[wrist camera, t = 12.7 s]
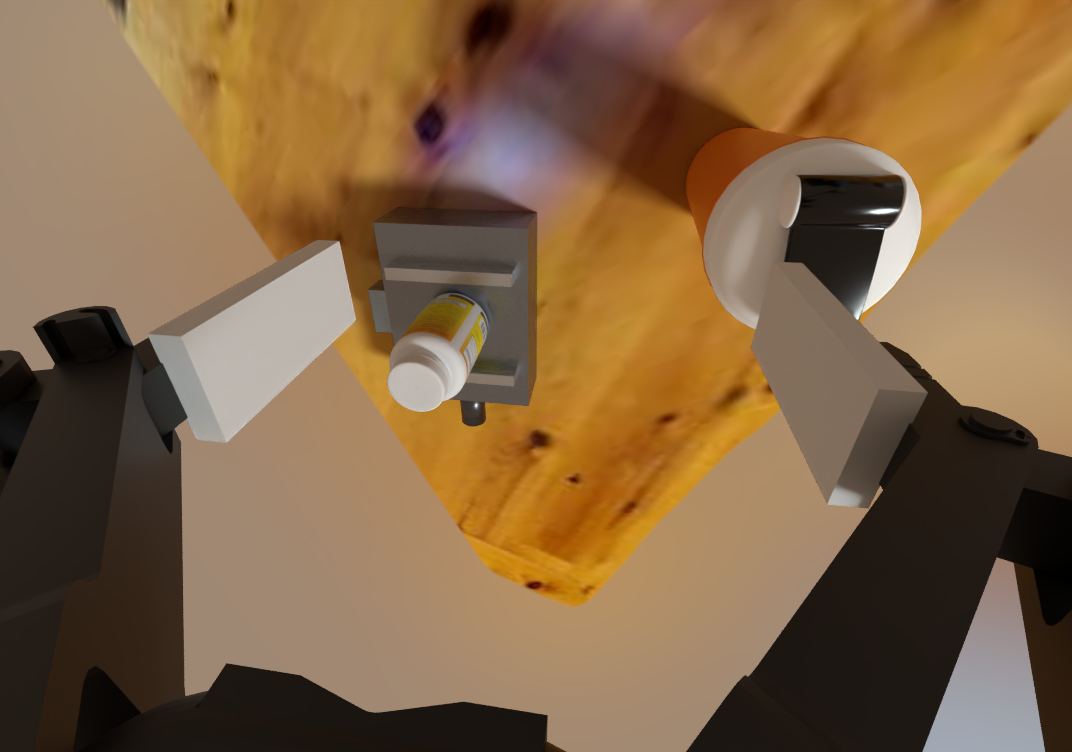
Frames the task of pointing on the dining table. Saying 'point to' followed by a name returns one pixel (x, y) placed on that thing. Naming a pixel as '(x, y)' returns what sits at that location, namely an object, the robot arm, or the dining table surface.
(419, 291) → the motor block
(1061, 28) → the dining table surface
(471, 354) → the supplement bottle
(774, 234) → the shaker bottle
